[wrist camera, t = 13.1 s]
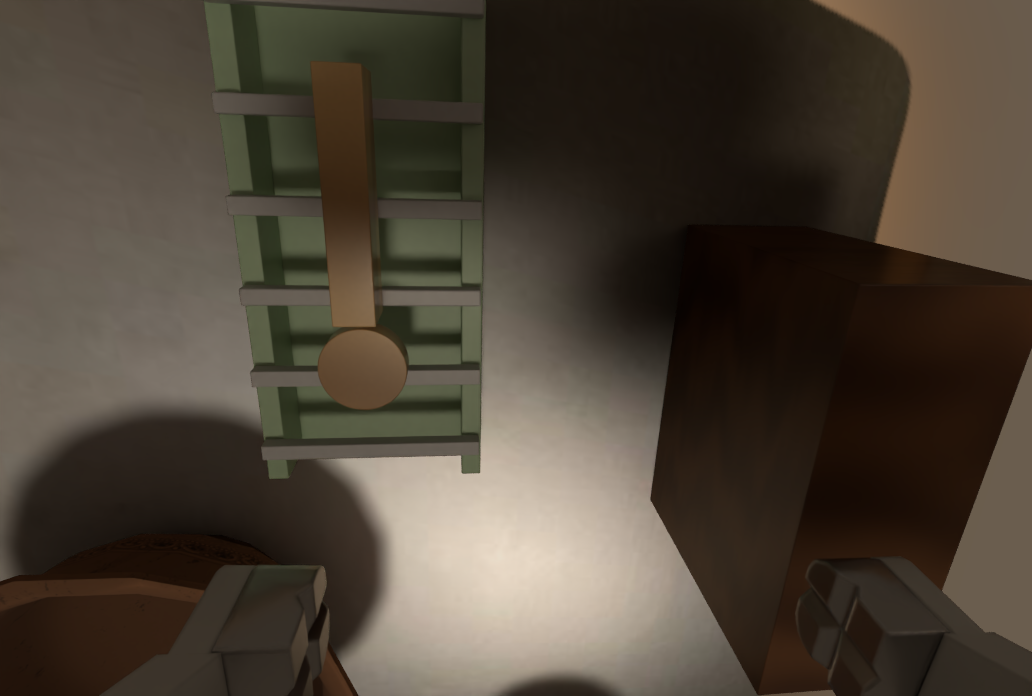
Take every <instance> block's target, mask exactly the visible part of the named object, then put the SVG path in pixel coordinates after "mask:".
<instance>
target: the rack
mask: <svg viewBox="0 0 1032 696" xmlns="http://www.w3.org/2000/svg"><path fill="white" fill-rule="evenodd" d="M203 1H204V7H205V15H206V22H207V29H208V36H209V44H210V51H211V58H212V65H213V73H214V80H215V87H216V92H212V101H213V109H214V112H215V113H217V114H219V116H220V124H221V131H222V138H223V145H224V153H225V160H226V167H227V174H228V182H229V189H230V195H228V196H226V203H227V210H228V215H233V218H234V225H235V233H236V240H237V247H238V254H239V262H240V269H241V276H242V283H243V287H241V288H240V289H239V294H240V301H241V305H243V306H246V313H247V320H248V327H249V334H250V342H251V349H252V356H253V363H254V368H253V370H252V371H251V372H250V374H251V381H252V387H257V393H258V400H259V407H260V414H261V422H262V429H263V436H264V443H263V445H262V446H261V451H262V458H263V460H267V465H268V472H269V479H287V478H289V477H290V475H291V473H292V471H293V469H294V467H295V464H296V462H297V460H298V459H335V458H375V457H416V456H456V455H461V465H462V473H463V474H464V473H480V442H481V362H482V282H483V202H484V121H485V41H486V0H203ZM310 61H327V62H347V63H361V64H362V65H363V66H364V67H366V68H367V69H368V70H369V71H370V72H371V85H372V104H373V124H374V143H375V163H376V183H377V202H378V222H379V242H380V261H381V281H382V300H383V311H382V314H381V316H380V318H379V321H378V323H377V324H380V325H383V326H385V327H387V328H388V329H390V330H392V331H393V332H394V333H395V334H396V335H397V336H398V337H399V338H400V339H401V340H402V342H403V343H404V345H405V347H406V350H407V352H408V356H409V368H408V374H407V379H406V382H405V385H404V387H403V389H402V391H401V392H400V394H399V395H398V396H397V397H396V398H395V399H394V400H393V401H392V402H390V403H388V404H387V405H385V406H382V407H380V408H376V409H371V410H358V409H353V408H349V407H346V406H344V405H342V404H340V403H338V402H337V401H335V400H334V399H333V398H332V397H331V396H329V394H328V393H327V392H326V391H325V389H324V388H323V386H322V384H321V382H320V379H319V376H318V359H319V356H320V353H321V351H322V349H323V348H324V346H325V344H326V343H327V341H328V340H329V338H330V337H331V336H332V335H333V334H334V333H335V332H336V331H337V330H338V329H340V328H341V327H333V326H332V317H331V305H330V294H329V282H328V270H327V258H326V246H325V234H324V222H323V210H322V198H321V187H320V175H319V163H318V151H317V139H316V127H315V115H314V103H313V91H312V80H311V68H310Z"/></svg>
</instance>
